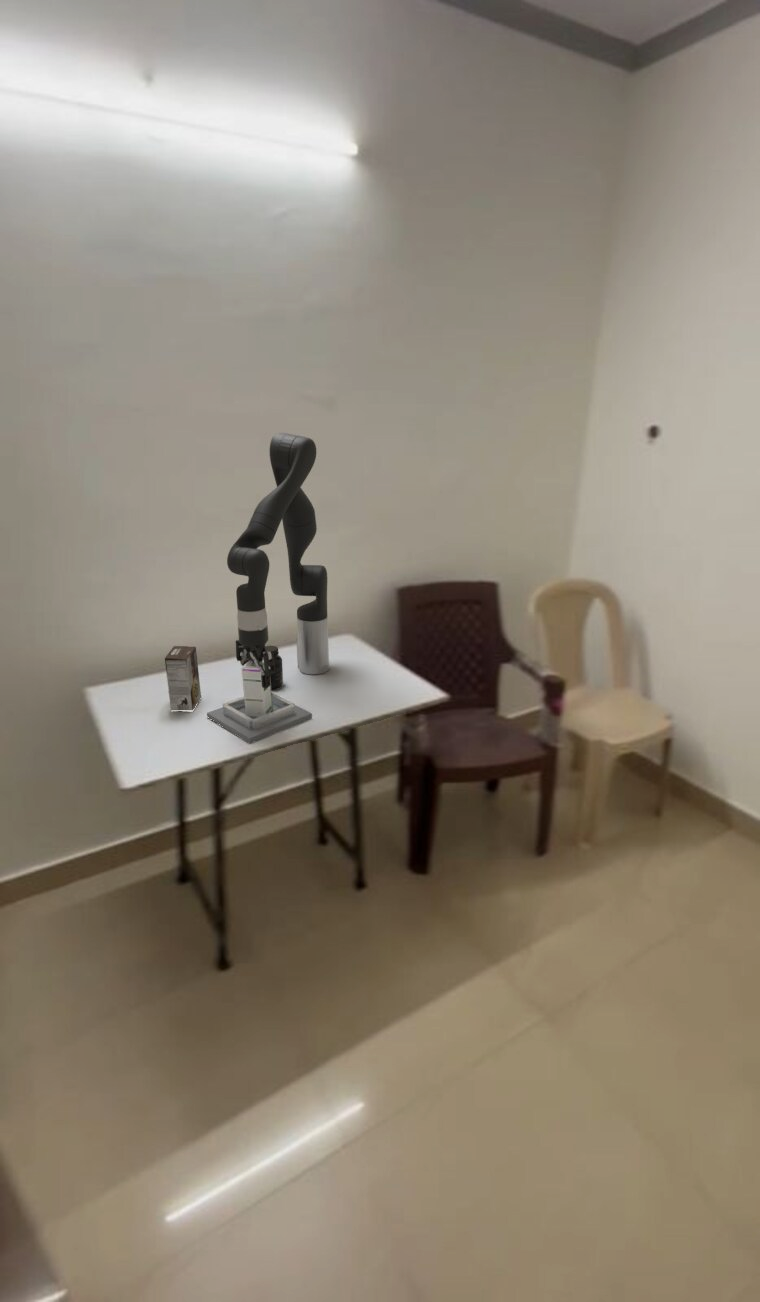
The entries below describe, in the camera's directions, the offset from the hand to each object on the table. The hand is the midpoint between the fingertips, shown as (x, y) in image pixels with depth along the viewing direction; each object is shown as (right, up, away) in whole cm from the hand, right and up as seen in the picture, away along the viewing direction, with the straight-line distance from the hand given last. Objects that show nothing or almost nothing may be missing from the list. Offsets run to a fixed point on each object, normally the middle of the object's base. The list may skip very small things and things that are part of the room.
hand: (256, 682), depth 192 cm
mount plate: (0, -10, +4) cm, 11 cm away
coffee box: (-22, -7, +11) cm, 25 cm away
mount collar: (0, -8, +3) cm, 9 cm away
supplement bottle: (0, -2, +24) cm, 24 cm away
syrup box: (0, -9, +3) cm, 9 cm away
